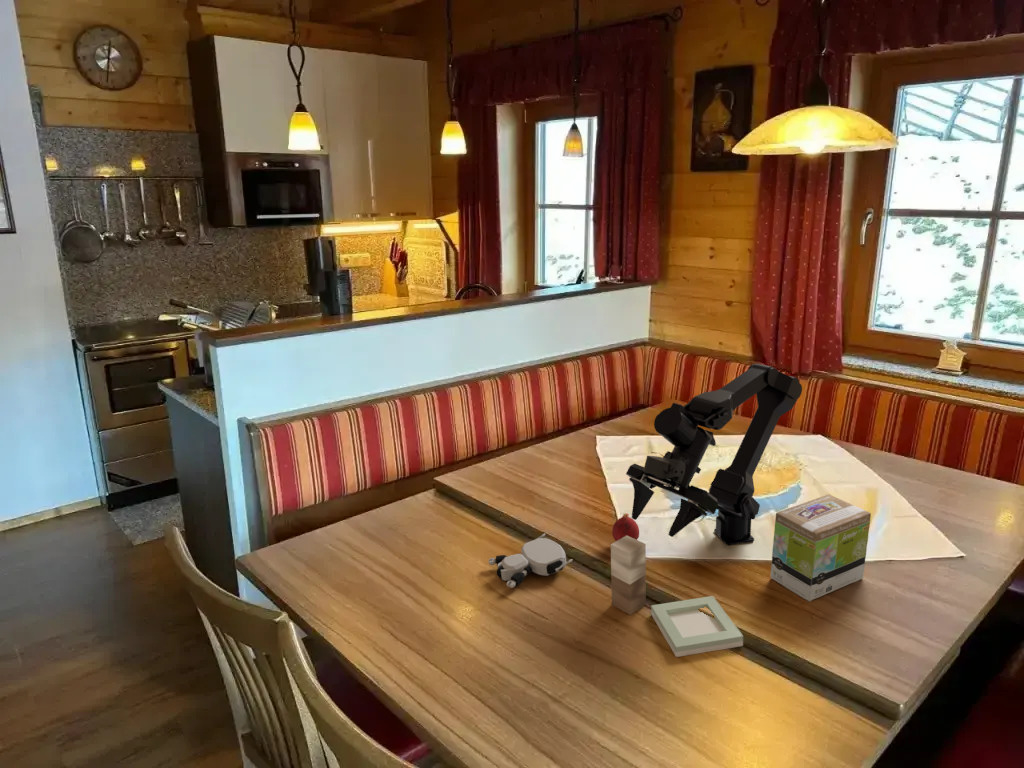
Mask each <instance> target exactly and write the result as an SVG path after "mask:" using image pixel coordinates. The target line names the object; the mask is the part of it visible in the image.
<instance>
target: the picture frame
mask: <svg viewBox="0 0 1024 768" xmlns="http://www.w3.org/2000/svg"><path fill="white" fill-rule="evenodd" d="M704 607H707V608H708V609H709V610H710V611H711V613H712V614H713V615H714V618H715V619H714V618H712V617H710V616H708V615H706V614H704V613H703V612H700V611H699V610H698V609H700V608H704ZM650 608H651V609H650V614H651V616H652V618H653V620H654V622H655V623H656V625H657V627H658V628H659V630H660V632H661V634H662V636H663V638H664V639H665V640H666V642H667V644H668V646H669V647H670V649H671V650H672V653H673V654H674V657H675V658H678V657H679V658H680V657H683V656H690V655H696V654H704V653H708V652H709V653H710V652H714V651H720V650H726V649H732V648H738V647H739V648H740V647H743V646H744V635H743V634H742V632H741V631H740V629H739V628H738V627H737V625H736V624H735V623H734V621H733V620H732V618H730V617H729V615H728V614H727V612H726V611H725V610H724V609H723V608H722V606H721V605H720V603H719V602H718V601H717V599H716V598H715V597H714V596H713V595H709V596H703V597H697V598H696V597H695V598H691V599H690V598H689V599H684V600H677V601H671V602H666V603H665V602H664V603H658V604H651V606H650Z"/></svg>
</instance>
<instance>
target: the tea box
mask: <svg viewBox="0 0 1024 768" xmlns="http://www.w3.org/2000/svg"><path fill="white" fill-rule="evenodd" d="M871 514H872V513H871V512H869V511H867V510H865V509H863V508H860V507H858V506H856V505H853V503H850V502H847V501H845V500H843V499H841V498H838V497H836V496H833V495H832V494H825V495H822V496H819V497H817V498H814V499H812V500H808V501H806V502H803V503H800V504H797V505H795V506H791V507H789V508H786V509H784V510H780V511H777V512H776V513H775V520H774V529H773V530H774V531H773V532H774V533H773V542H772V543H773V544H772V555H771V565H770V577H769V578H771V579H772V580H774V581H775V582H777V583H778V584H780V585H782V586H783V587H784V588H786V589H788V590H789V591H791V592H793V594H795V595H797V596H799V597H800V598H803V599H804V600H806V601H807V602H812V601H813V600H815V599H818V598H821V597H823V596H825V595H827V594H830V593H832V592H834V591H836V590H839V589H841V588H844V587H845V586H848V585H850V584H852V583H853V584H854V583H855V582H858V581H861V580H862V579H863V578H864V573H865V566H866V565H865V564H866V557H867V550H868V549H867V548H868V542H869V541H868V540H869V533H870V525H871V517H872V515H871Z"/></svg>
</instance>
